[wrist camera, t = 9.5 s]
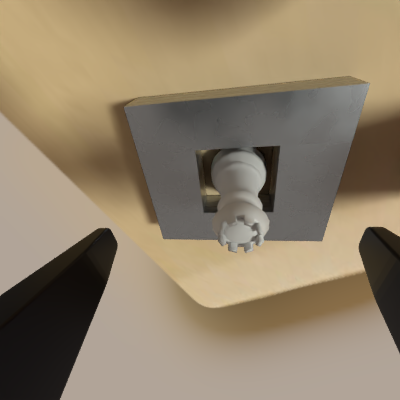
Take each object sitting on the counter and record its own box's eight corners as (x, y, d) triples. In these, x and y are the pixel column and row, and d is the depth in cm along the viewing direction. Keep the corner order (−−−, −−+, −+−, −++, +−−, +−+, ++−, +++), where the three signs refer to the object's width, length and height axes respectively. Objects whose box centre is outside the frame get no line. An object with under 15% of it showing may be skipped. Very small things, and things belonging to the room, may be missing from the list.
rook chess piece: (245, 197, 20) (251, 273, 14) (202, 175, 19) (186, 244, 13) (277, 158, 17) (303, 229, 11) (228, 130, 17) (226, 190, 10)
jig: (350, 76, 14) (369, 83, 12) (313, 221, 21) (322, 241, 19) (137, 97, 16) (123, 106, 14) (169, 221, 23) (163, 239, 21)
